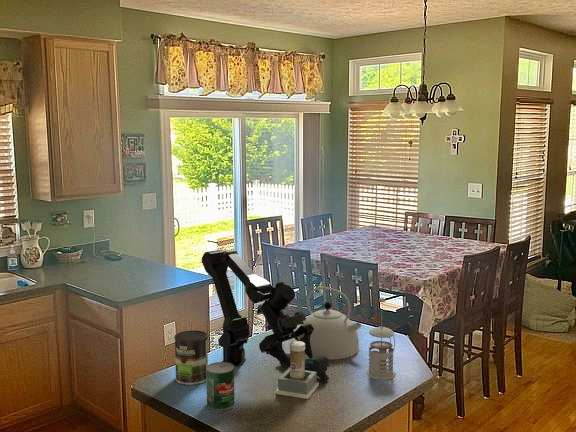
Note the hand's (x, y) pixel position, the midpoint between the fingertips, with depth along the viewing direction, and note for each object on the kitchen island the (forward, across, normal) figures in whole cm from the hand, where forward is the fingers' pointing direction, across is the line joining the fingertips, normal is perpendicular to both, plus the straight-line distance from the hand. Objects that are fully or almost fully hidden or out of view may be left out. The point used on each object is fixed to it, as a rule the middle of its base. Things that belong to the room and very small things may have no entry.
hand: (300, 361), depth 172 cm
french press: (+12, +29, +1) cm, 31 cm away
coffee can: (-15, -18, +28) cm, 37 cm away
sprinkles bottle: (+5, 0, +7) cm, 8 cm away
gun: (0, +11, +14) cm, 17 cm away
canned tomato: (0, -23, +13) cm, 26 cm away
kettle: (-6, +34, +20) cm, 39 cm away
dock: (+5, 0, +7) cm, 9 cm away
